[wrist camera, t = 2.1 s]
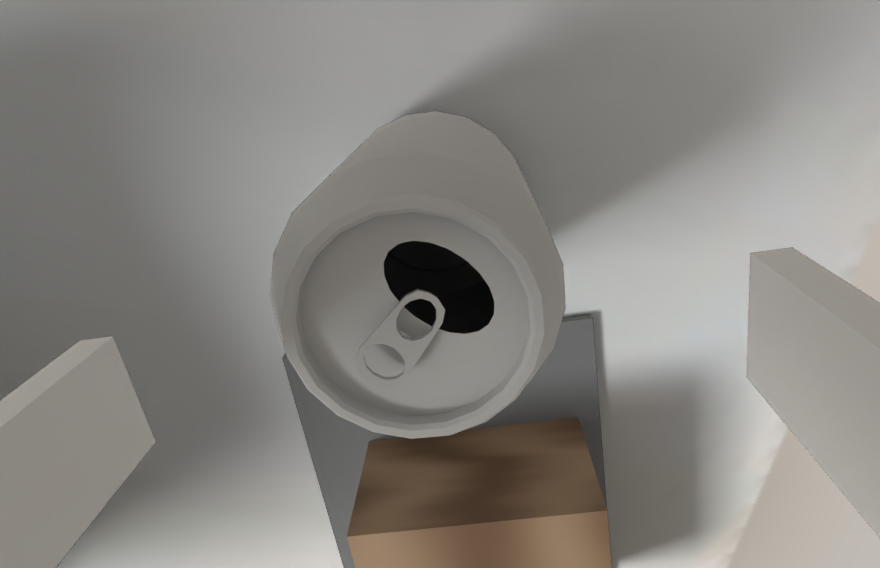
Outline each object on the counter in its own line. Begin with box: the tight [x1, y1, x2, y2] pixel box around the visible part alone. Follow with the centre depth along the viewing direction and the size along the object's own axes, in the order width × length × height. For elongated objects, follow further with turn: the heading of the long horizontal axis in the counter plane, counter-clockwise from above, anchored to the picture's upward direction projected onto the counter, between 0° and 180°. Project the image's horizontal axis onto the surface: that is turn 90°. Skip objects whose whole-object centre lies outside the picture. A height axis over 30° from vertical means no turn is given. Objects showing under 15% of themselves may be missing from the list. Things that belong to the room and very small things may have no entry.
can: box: [270, 111, 566, 439], centre depth 19 cm, size 8×8×12 cm
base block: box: [347, 417, 612, 568], centre depth 27 cm, size 10×10×6 cm
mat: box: [282, 314, 607, 568], centre depth 30 cm, size 14×20×1 cm
